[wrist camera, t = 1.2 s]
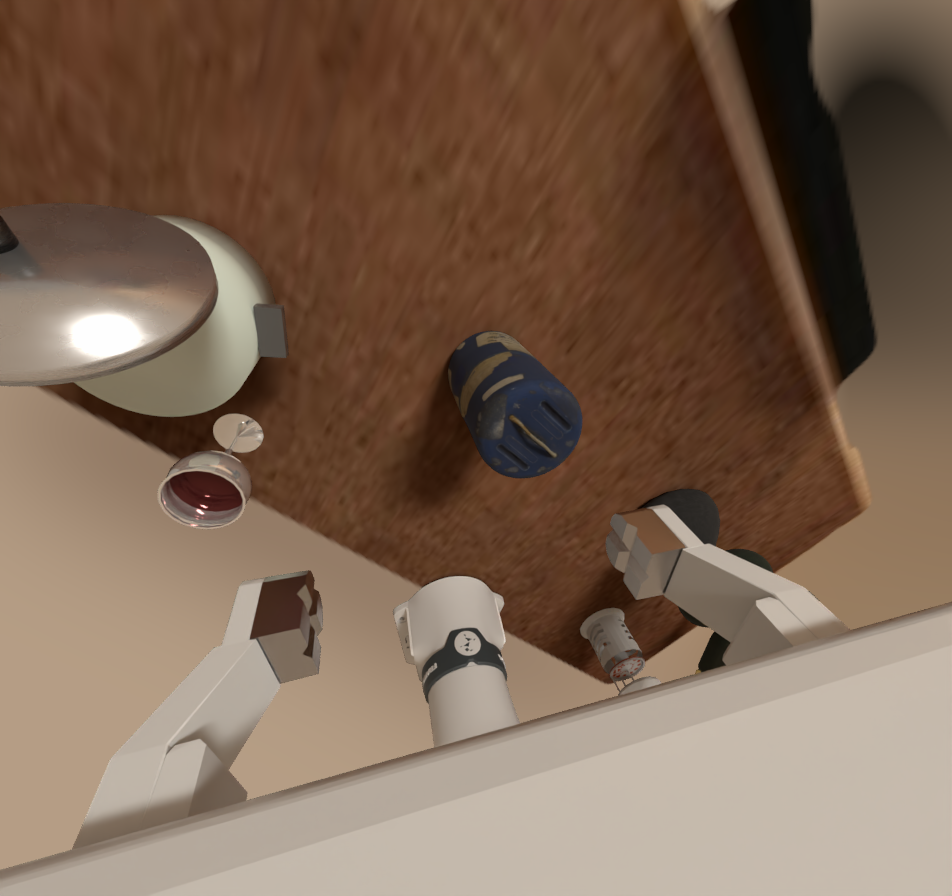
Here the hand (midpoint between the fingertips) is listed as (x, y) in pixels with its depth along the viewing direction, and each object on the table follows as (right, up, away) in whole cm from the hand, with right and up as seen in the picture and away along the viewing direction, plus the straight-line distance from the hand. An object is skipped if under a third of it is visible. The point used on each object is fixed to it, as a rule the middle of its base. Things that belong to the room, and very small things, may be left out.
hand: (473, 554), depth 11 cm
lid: (-22, +11, +11) cm, 27 cm away
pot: (-26, +17, +27) cm, 41 cm away
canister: (+1, +13, +37) cm, 39 cm away
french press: (+26, -34, +73) cm, 84 cm away
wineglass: (-26, +5, +35) cm, 44 cm away
